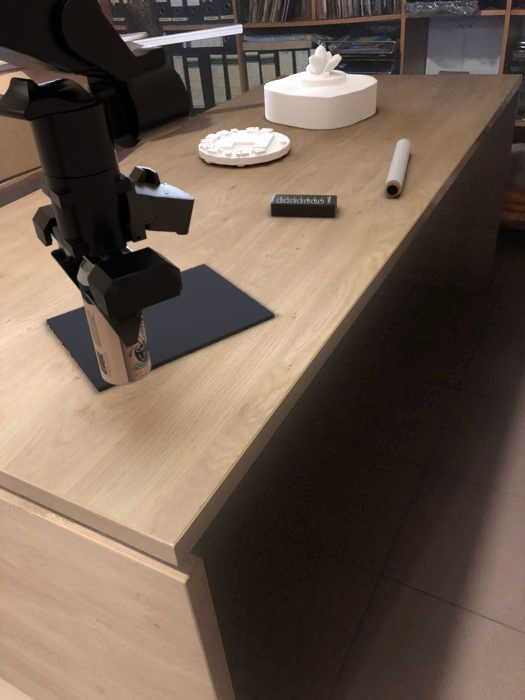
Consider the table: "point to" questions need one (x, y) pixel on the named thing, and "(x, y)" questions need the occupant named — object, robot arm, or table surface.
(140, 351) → the beer can
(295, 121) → the white crystal-topped box
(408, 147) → the tube
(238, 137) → the embossed medallion
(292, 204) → the multiport hub
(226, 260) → the table surface
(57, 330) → the desk mat
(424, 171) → the table surface
